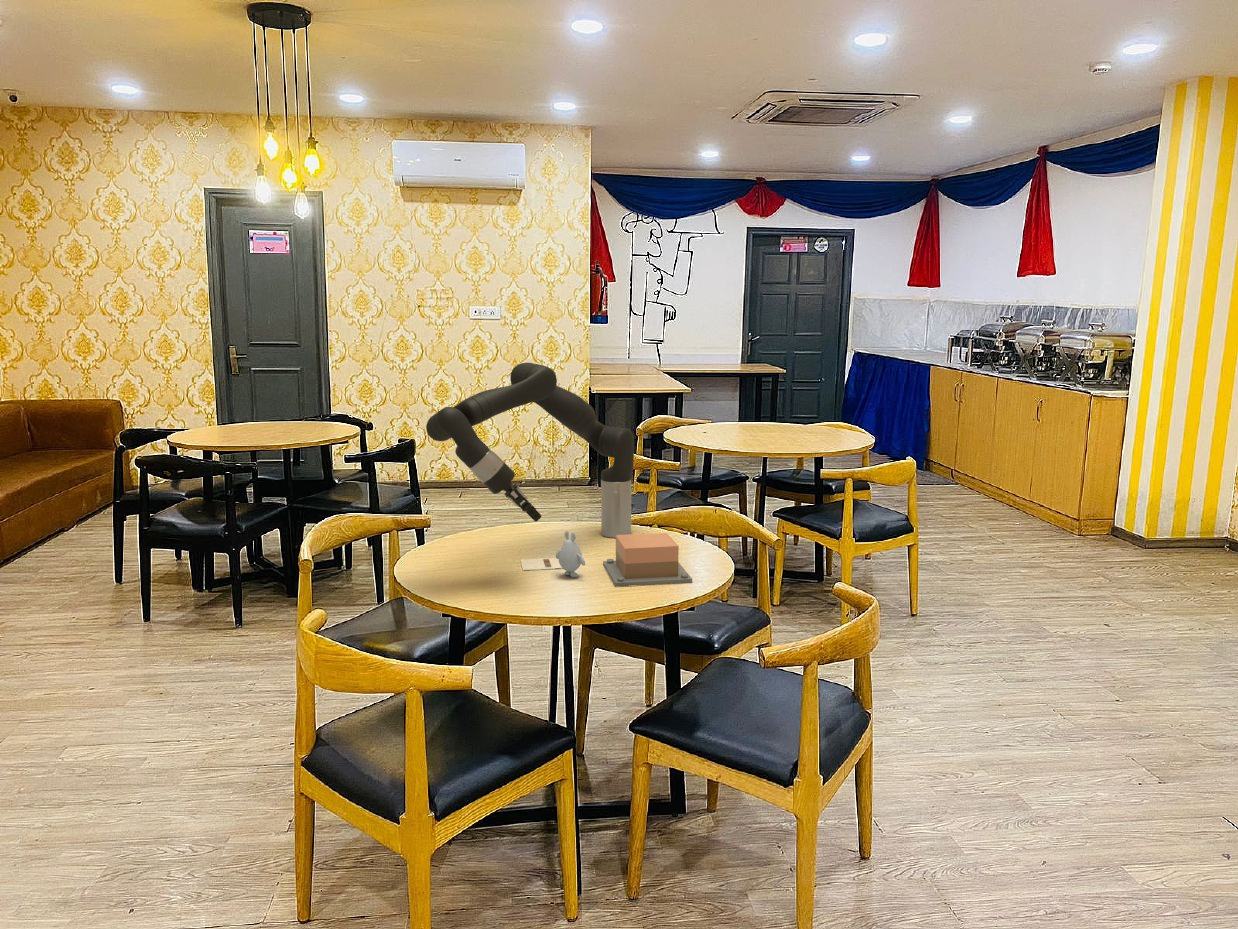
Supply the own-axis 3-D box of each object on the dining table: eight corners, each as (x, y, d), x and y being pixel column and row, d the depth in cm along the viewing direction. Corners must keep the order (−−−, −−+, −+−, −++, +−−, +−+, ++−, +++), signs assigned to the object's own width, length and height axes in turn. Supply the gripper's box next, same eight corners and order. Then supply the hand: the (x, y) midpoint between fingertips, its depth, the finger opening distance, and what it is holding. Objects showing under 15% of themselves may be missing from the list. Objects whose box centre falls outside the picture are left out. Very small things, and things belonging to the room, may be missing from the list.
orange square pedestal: (603, 564, 251) (603, 532, 250) (674, 561, 254) (674, 529, 253) (615, 586, 232) (615, 552, 230) (692, 582, 235) (692, 548, 233)
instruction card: (520, 560, 255) (520, 559, 255) (570, 558, 258) (570, 556, 258) (522, 570, 246) (522, 569, 246) (574, 568, 248) (574, 566, 248)
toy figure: (593, 577, 240) (593, 532, 237) (576, 583, 235) (576, 537, 233) (564, 569, 247) (564, 526, 244) (547, 574, 242) (547, 530, 240)
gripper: (506, 464, 223) (551, 510, 228) (499, 456, 237) (542, 500, 241) (484, 486, 223) (529, 532, 227) (478, 477, 236) (521, 520, 241)
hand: (536, 515), depth 234 cm, fingers open, 8 cm apart
